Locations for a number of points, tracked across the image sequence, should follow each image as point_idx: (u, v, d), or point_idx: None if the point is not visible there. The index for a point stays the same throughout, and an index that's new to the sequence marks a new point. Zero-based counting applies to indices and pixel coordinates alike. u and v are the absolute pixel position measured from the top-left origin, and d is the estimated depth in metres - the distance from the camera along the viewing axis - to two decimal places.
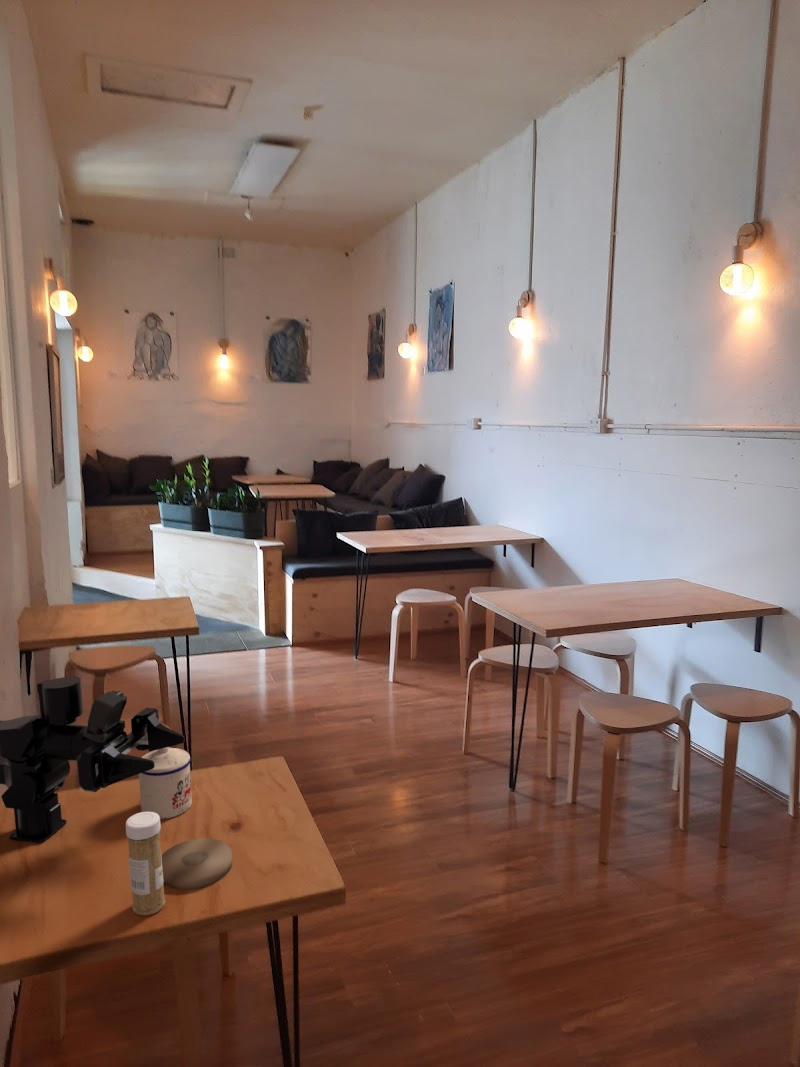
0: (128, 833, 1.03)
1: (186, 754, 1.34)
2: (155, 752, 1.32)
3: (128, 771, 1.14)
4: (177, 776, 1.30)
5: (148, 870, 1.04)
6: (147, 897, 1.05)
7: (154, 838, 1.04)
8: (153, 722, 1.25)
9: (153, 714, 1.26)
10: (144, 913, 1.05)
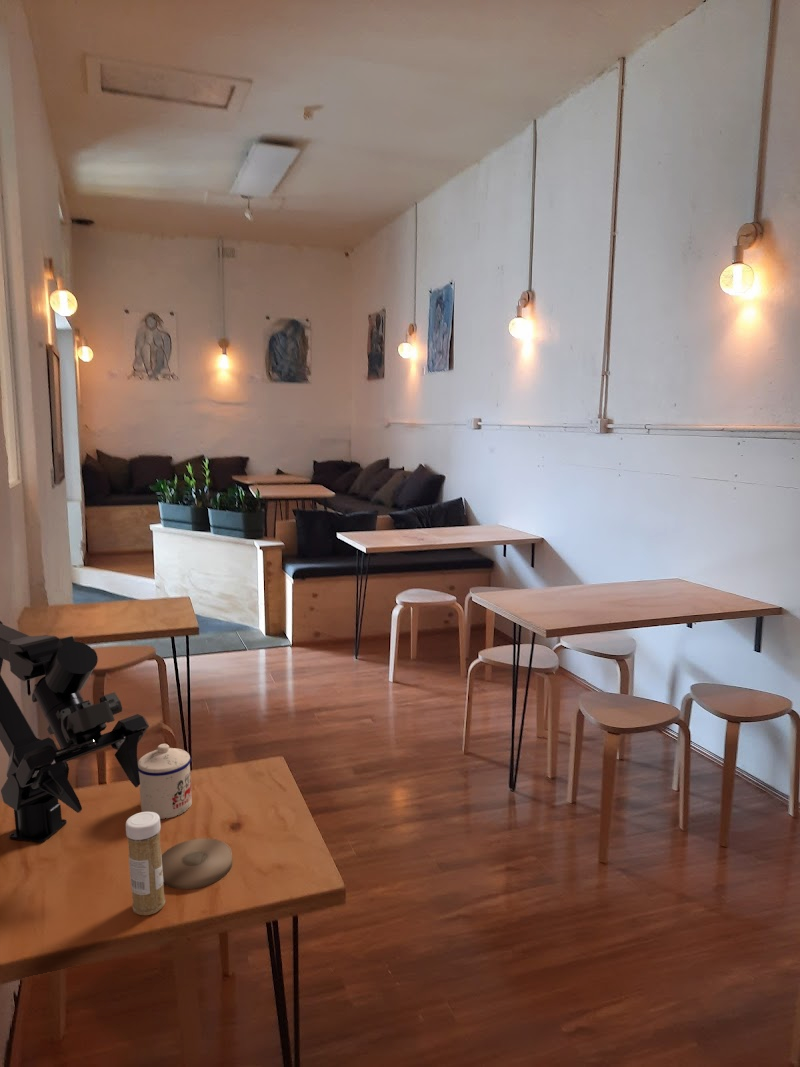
0: (128, 833, 1.03)
1: (186, 754, 1.34)
2: (155, 752, 1.32)
3: (59, 795, 1.07)
4: (177, 776, 1.30)
5: (148, 870, 1.04)
6: (147, 897, 1.05)
7: (154, 838, 1.04)
8: (130, 743, 1.15)
9: (137, 734, 1.16)
10: (144, 913, 1.05)
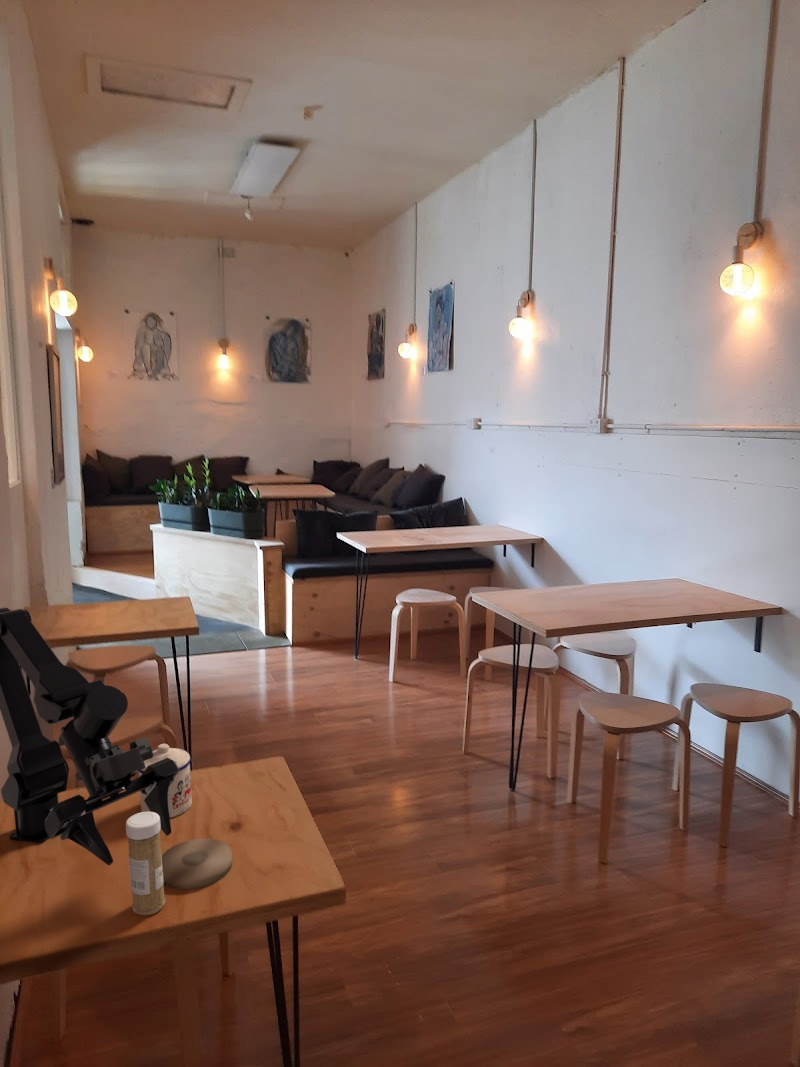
0: (128, 833, 1.03)
1: (186, 754, 1.34)
2: (155, 752, 1.32)
3: (89, 846, 1.03)
4: (177, 776, 1.30)
5: (148, 870, 1.04)
6: (147, 897, 1.05)
7: (154, 838, 1.04)
8: (161, 789, 1.11)
9: (168, 779, 1.12)
10: (144, 913, 1.05)
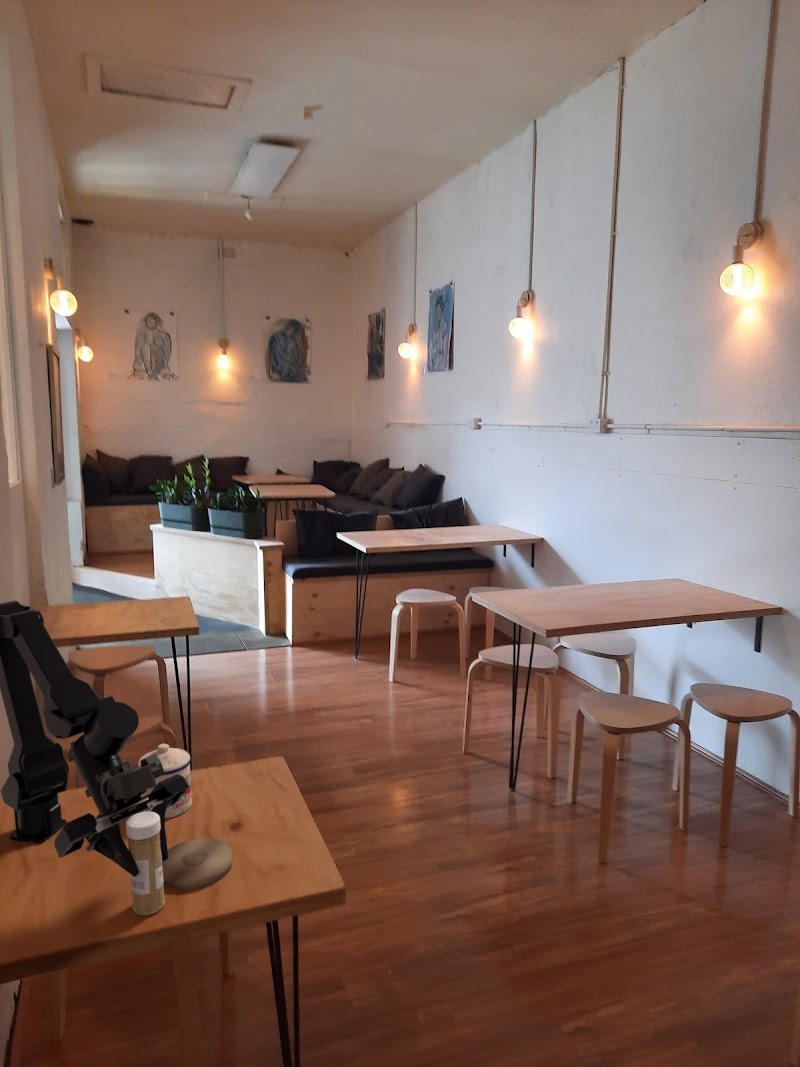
0: (128, 833, 1.03)
1: (186, 754, 1.34)
2: (155, 752, 1.32)
3: (115, 858, 1.04)
4: None
5: (148, 870, 1.04)
6: (147, 897, 1.05)
7: (154, 838, 1.04)
8: (158, 813, 1.08)
9: (165, 803, 1.09)
10: (144, 913, 1.05)
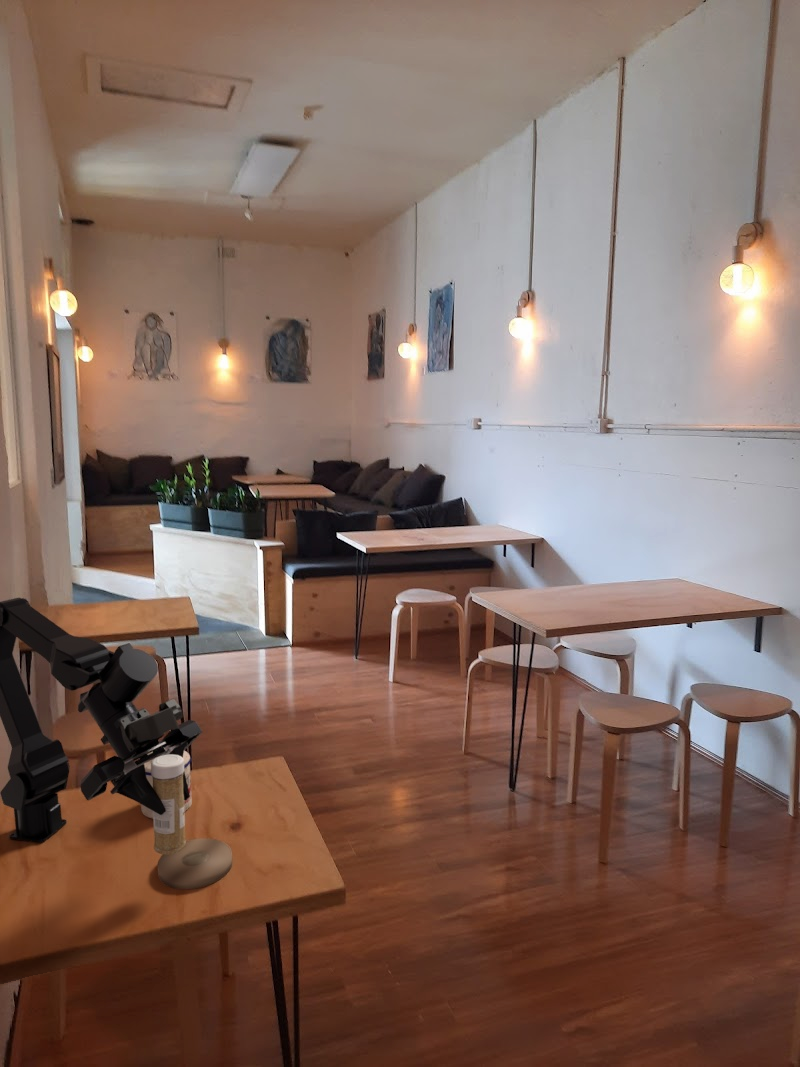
0: (155, 773, 1.07)
1: (186, 754, 1.34)
2: None
3: (140, 798, 1.07)
4: None
5: (173, 809, 1.08)
6: (171, 836, 1.08)
7: (180, 777, 1.08)
8: None
9: (183, 745, 1.13)
10: (168, 852, 1.08)
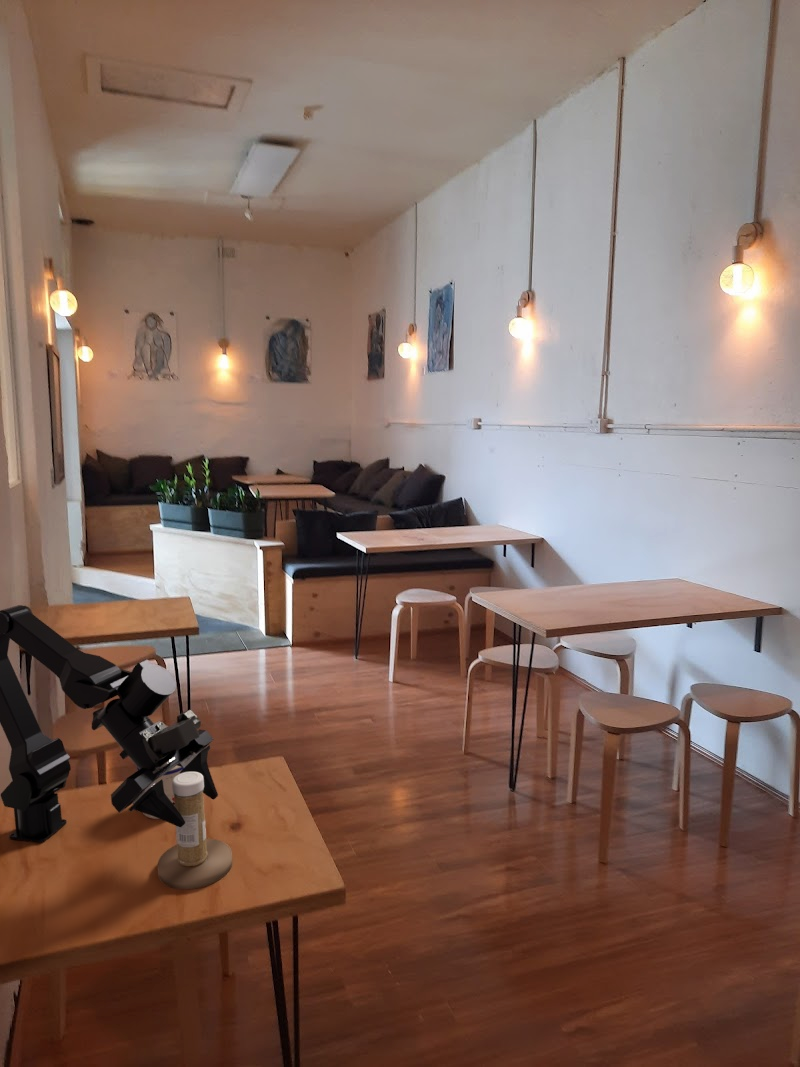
0: (178, 791, 1.12)
1: None
2: None
3: (159, 813, 1.10)
4: None
5: (197, 823, 1.13)
6: (196, 848, 1.14)
7: (201, 793, 1.14)
8: (202, 758, 1.19)
9: (207, 749, 1.20)
10: (193, 864, 1.14)
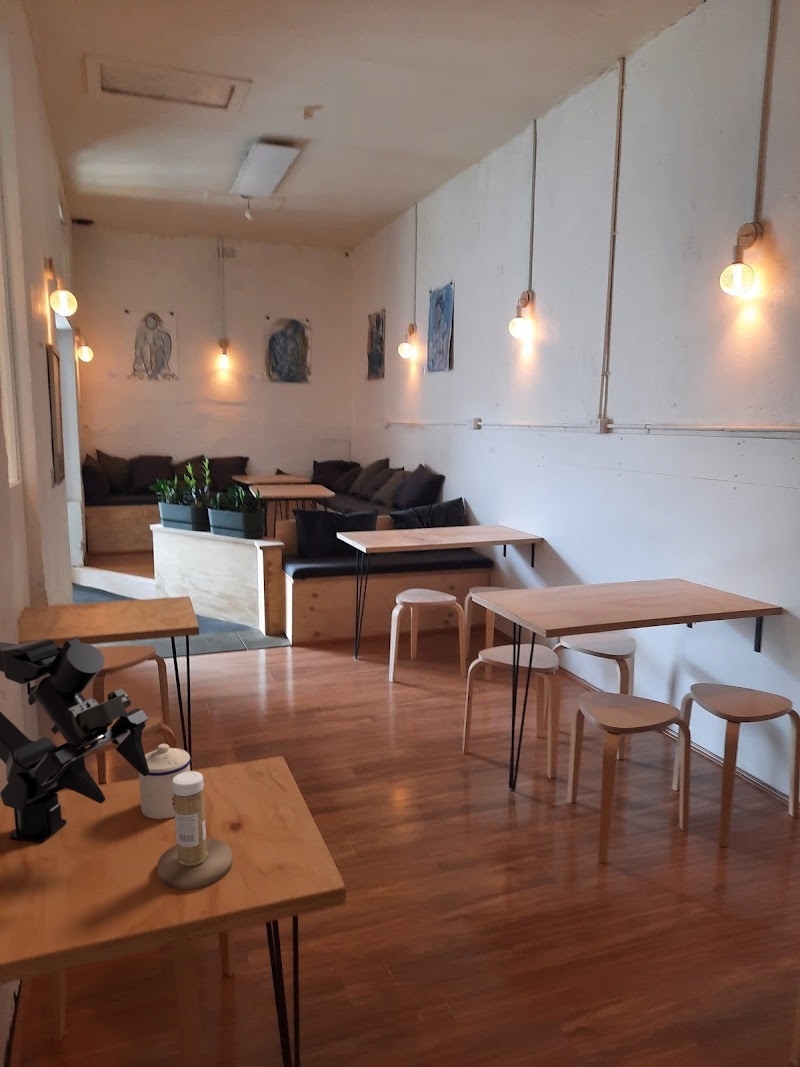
0: (178, 791, 1.12)
1: (186, 754, 1.34)
2: (155, 752, 1.32)
3: (80, 789, 1.12)
4: None
5: (197, 823, 1.13)
6: (195, 848, 1.14)
7: (201, 793, 1.14)
8: (136, 735, 1.21)
9: (141, 726, 1.22)
10: (193, 864, 1.14)
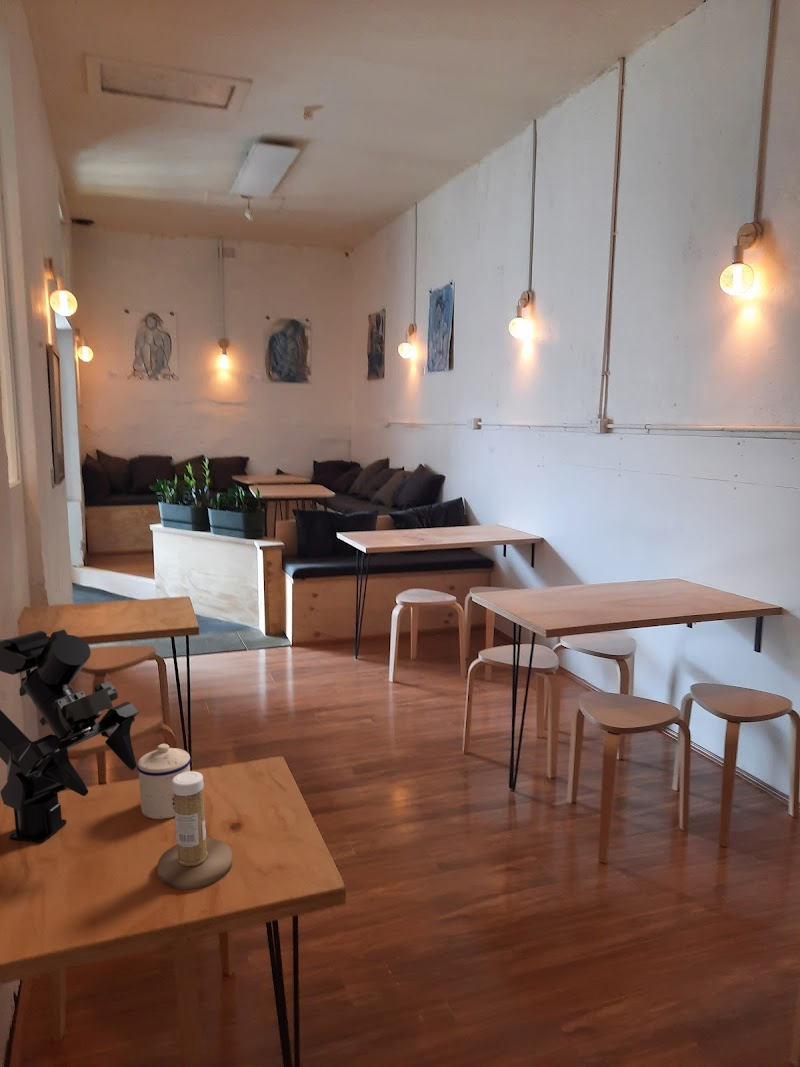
0: (178, 791, 1.12)
1: (186, 754, 1.34)
2: (155, 752, 1.32)
3: (63, 781, 1.12)
4: None
5: (197, 823, 1.13)
6: (195, 848, 1.14)
7: (201, 793, 1.14)
8: (124, 729, 1.21)
9: (130, 720, 1.22)
10: (193, 864, 1.14)
